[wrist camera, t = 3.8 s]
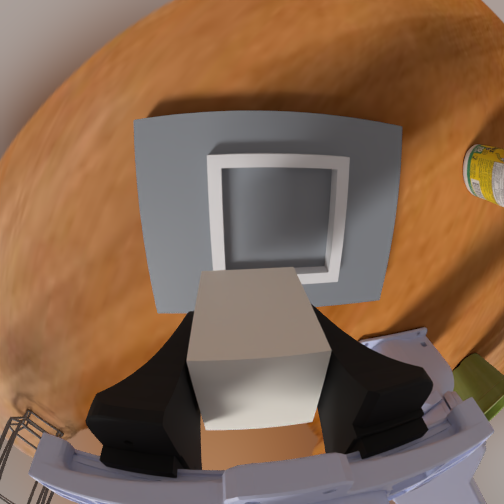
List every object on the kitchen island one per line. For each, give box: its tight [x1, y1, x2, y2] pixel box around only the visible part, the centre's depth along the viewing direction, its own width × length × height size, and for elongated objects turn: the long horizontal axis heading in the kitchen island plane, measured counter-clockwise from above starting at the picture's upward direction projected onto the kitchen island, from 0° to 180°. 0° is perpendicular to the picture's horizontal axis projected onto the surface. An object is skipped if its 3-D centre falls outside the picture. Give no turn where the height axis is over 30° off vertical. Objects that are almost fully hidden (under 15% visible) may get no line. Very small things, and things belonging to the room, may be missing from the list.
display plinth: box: [134, 111, 402, 313], centre depth 18 cm, size 18×14×3 cm
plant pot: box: [452, 353, 504, 421], centre depth 27 cm, size 12×12×11 cm
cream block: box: [187, 267, 332, 430], centre depth 11 cm, size 4×4×6 cm
